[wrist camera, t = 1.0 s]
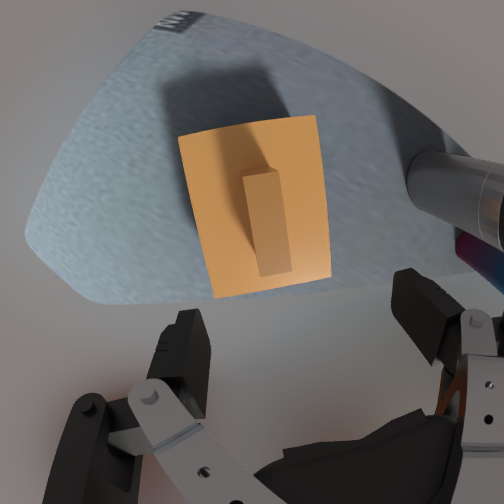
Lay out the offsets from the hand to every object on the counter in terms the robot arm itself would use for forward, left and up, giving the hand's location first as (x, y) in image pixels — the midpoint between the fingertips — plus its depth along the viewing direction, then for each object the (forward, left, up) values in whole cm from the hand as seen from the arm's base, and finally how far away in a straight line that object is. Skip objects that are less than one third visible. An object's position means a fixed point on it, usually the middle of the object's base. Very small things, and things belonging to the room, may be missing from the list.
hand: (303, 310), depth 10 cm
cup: (-36, +13, -24) cm, 45 cm away
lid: (0, 0, -18) cm, 18 cm away
